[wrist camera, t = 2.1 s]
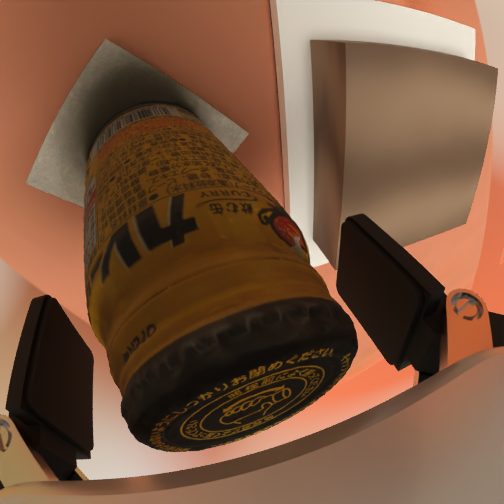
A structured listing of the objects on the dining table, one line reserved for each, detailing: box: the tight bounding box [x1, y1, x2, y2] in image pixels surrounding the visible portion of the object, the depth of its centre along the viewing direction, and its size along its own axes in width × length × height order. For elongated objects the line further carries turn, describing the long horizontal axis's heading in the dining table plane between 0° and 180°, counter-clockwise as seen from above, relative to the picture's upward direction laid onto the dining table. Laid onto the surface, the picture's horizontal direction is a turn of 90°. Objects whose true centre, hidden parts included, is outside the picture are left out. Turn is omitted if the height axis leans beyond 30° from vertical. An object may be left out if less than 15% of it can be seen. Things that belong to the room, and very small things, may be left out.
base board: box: [270, 0, 475, 267], centre depth 17 cm, size 17×15×1 cm
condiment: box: [26, 39, 358, 452], centre depth 9 cm, size 7×8×12 cm
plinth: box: [310, 40, 498, 270], centre depth 15 cm, size 12×12×3 cm
